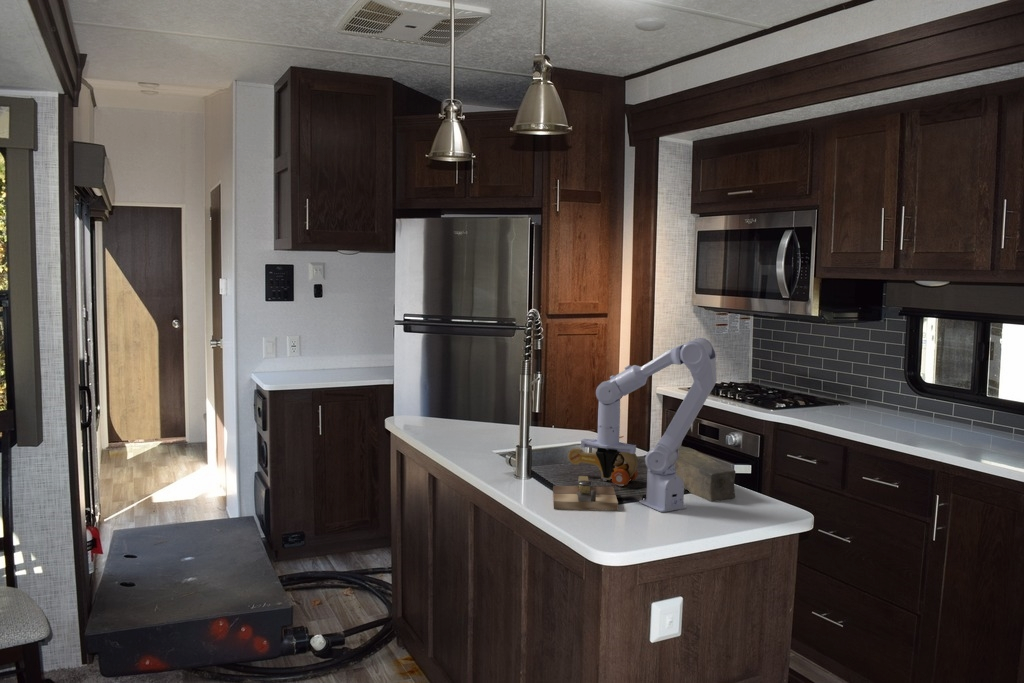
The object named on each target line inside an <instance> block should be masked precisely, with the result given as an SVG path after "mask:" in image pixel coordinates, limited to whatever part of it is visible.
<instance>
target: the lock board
mask: <svg viewBox="0 0 1024 683" xmlns="http://www.w3.org/2000/svg"><path fill="white" fill-rule="evenodd" d="M552 500H553V510H575V511H577V510H578V511H581V510H582V511H583V510H584V511H585V510H586V511H616V512H617V511H618V510H619V501H618V499H617V495H616V492H615V488H614V486H592V485H590V492H589V493H580V489H579V485H553V486H552Z"/></svg>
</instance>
